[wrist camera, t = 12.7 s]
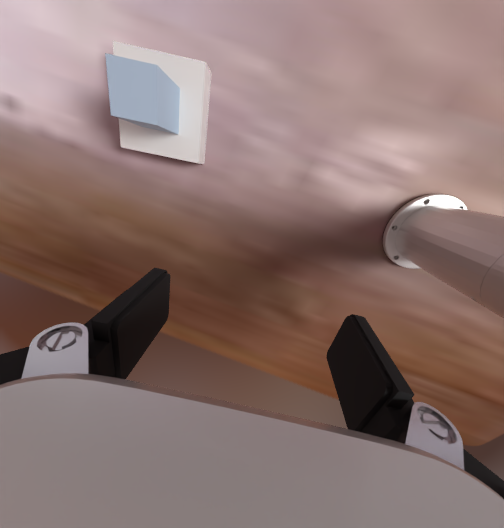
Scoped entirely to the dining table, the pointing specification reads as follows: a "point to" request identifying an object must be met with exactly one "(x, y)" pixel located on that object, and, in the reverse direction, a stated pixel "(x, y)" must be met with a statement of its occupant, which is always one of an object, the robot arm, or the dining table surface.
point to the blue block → (142, 94)
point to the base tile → (190, 107)
